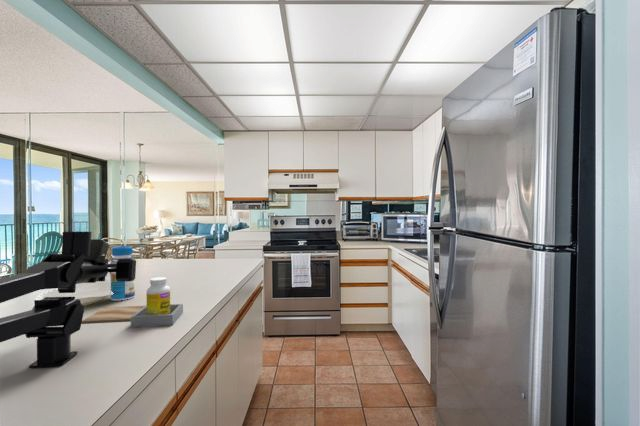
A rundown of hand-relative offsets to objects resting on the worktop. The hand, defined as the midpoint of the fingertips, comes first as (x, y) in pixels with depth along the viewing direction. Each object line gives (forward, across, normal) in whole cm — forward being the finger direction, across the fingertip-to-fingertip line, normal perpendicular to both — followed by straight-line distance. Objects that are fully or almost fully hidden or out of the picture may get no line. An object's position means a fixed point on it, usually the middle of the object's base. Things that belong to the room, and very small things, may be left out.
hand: (115, 268), depth 98 cm
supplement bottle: (+4, -12, +16) cm, 20 cm away
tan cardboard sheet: (+10, +4, +15) cm, 18 cm away
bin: (+4, -12, +16) cm, 20 cm away
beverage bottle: (+30, +12, +13) cm, 35 cm away
